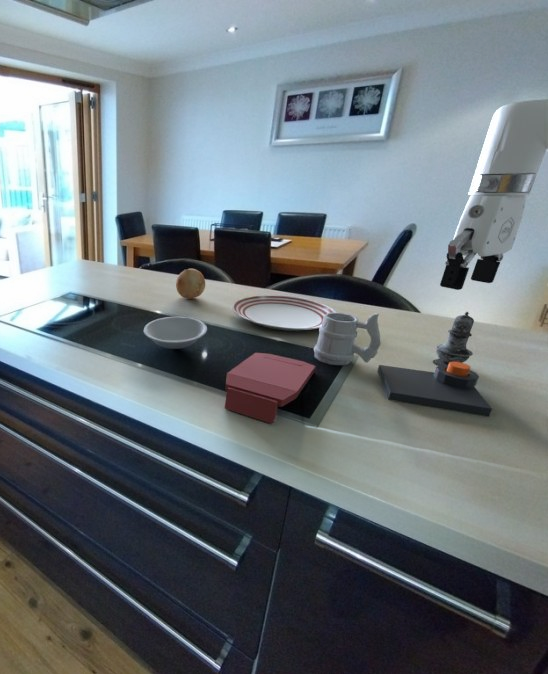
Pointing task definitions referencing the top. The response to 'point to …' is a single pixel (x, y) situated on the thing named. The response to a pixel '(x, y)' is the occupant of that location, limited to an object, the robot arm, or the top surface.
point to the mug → (345, 339)
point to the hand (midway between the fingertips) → (466, 284)
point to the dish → (175, 331)
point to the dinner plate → (282, 312)
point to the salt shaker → (456, 342)
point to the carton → (265, 385)
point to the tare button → (458, 368)
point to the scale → (434, 389)
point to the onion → (190, 283)
